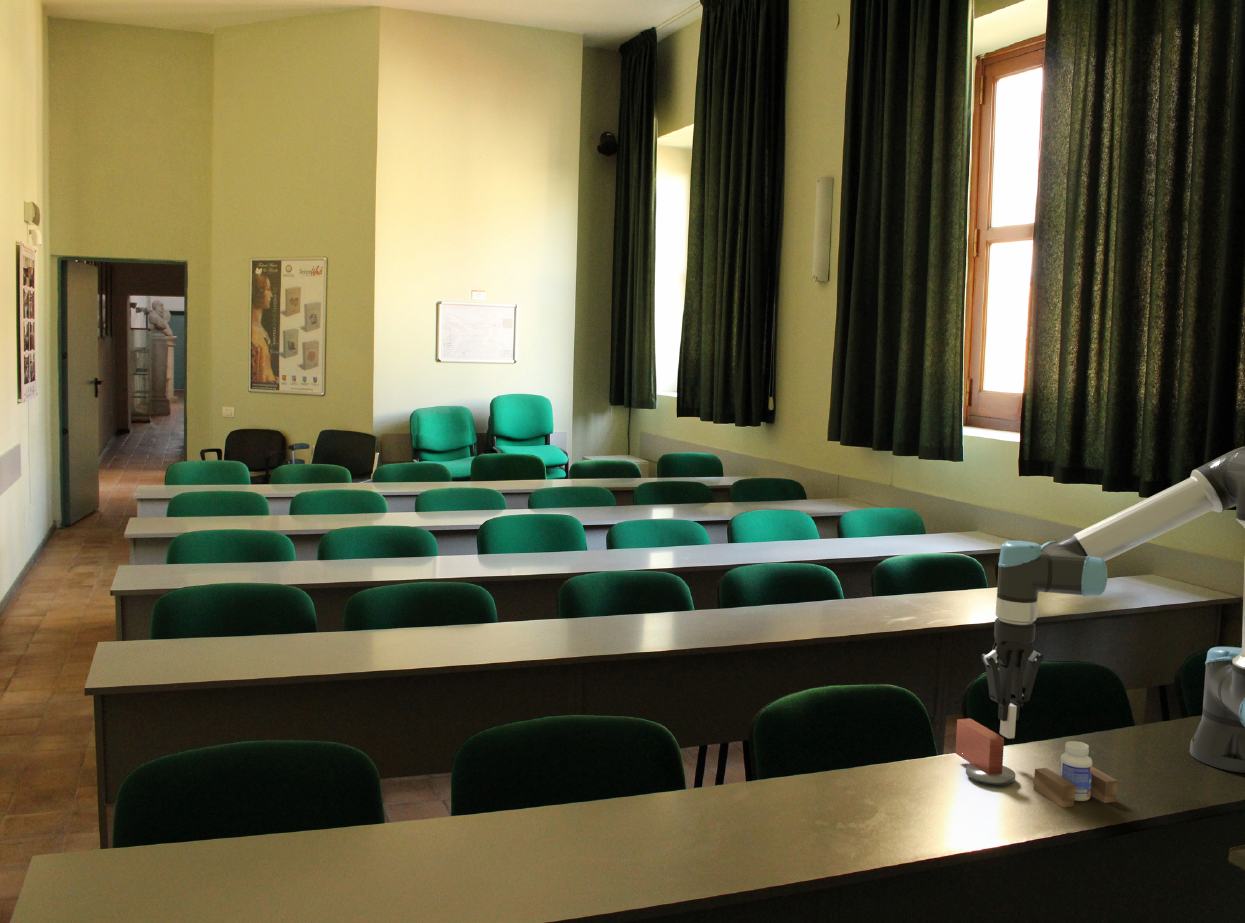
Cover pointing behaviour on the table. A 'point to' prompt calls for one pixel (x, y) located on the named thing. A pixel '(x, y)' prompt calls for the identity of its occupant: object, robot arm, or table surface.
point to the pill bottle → (1077, 768)
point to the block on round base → (982, 753)
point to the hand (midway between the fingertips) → (1007, 735)
